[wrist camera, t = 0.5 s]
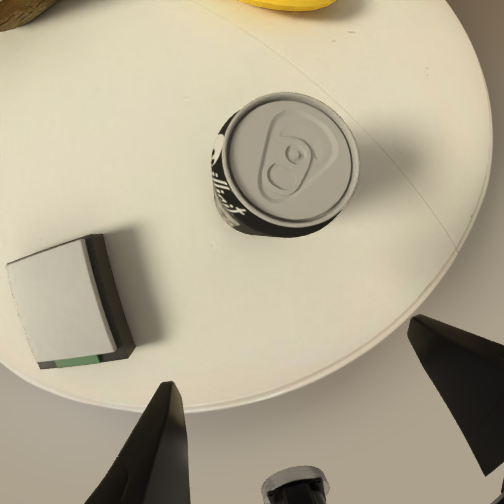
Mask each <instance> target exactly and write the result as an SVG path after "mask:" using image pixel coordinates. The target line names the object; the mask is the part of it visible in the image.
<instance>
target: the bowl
mask: <svg viewBox="0 0 504 504" xmlns="http://www.w3.org/2000/svg"><path fill="white" fill-rule="evenodd" d="M56 1H57V0H0V32H2V31H7V30H10V29H14V28H17V27H19V26H21V25H23V24H25V23H27V22H29V21H30V20H32V19H34V18H35V17H37V16H38V15H40V14H41V13H42V12H44V11H45V10H46V9H48V8H49V7H50V6H52V5H53V4H54V3H55V2H56Z"/></svg>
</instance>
